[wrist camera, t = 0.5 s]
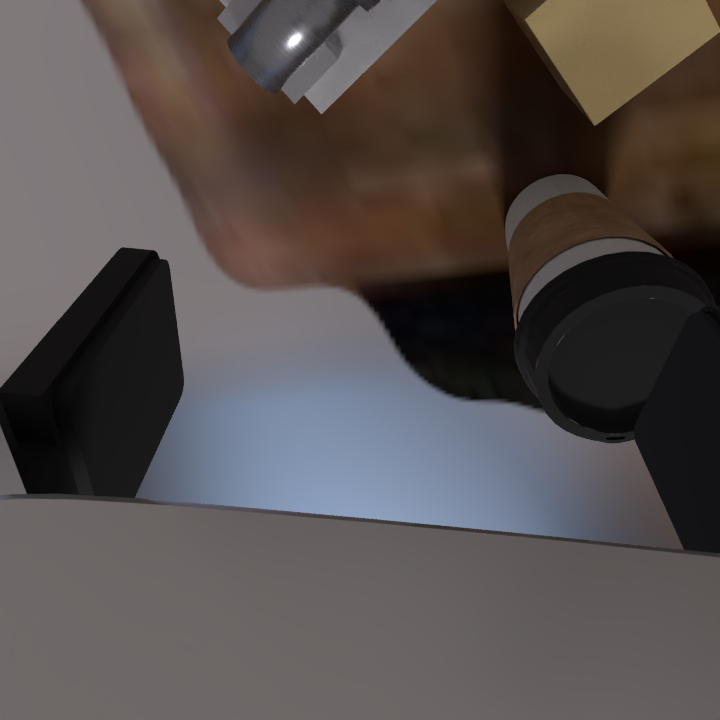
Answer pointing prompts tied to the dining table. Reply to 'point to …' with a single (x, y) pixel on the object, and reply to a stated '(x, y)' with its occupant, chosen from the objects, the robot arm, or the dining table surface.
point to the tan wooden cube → (611, 44)
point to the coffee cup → (592, 306)
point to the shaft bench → (363, 44)
